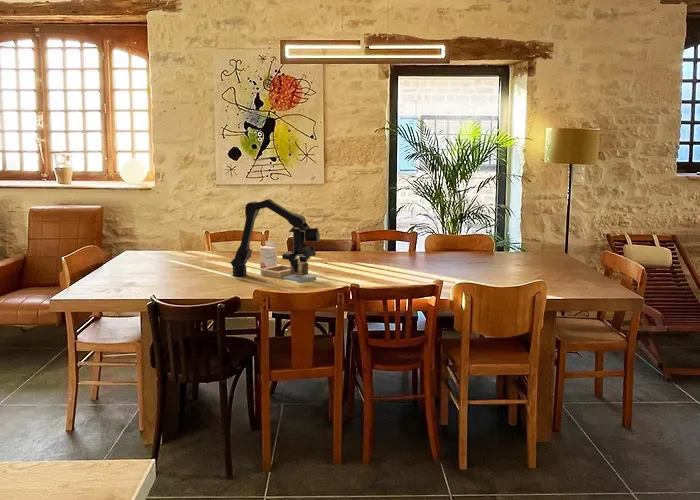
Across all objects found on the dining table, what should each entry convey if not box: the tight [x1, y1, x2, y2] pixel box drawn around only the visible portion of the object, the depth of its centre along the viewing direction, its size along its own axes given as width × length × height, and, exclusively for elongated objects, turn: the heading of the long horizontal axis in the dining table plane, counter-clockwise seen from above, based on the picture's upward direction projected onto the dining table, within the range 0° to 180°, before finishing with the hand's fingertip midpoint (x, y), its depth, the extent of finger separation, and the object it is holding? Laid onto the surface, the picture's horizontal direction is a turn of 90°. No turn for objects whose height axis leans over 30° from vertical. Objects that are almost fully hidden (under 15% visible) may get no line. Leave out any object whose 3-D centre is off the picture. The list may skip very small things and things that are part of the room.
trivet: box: [282, 274, 317, 284], centre depth 381 cm, size 12×12×2 cm
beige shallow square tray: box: [259, 264, 294, 279], centre depth 391 cm, size 16×15×4 cm
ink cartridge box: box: [259, 240, 278, 269], centre depth 411 cm, size 9×5×15 cm, turn 58°
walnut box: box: [290, 260, 309, 276], centre depth 380 cm, size 5×8×6 cm, turn 49°
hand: (299, 271), depth 380 cm, fingers closed on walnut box, 4 cm apart
